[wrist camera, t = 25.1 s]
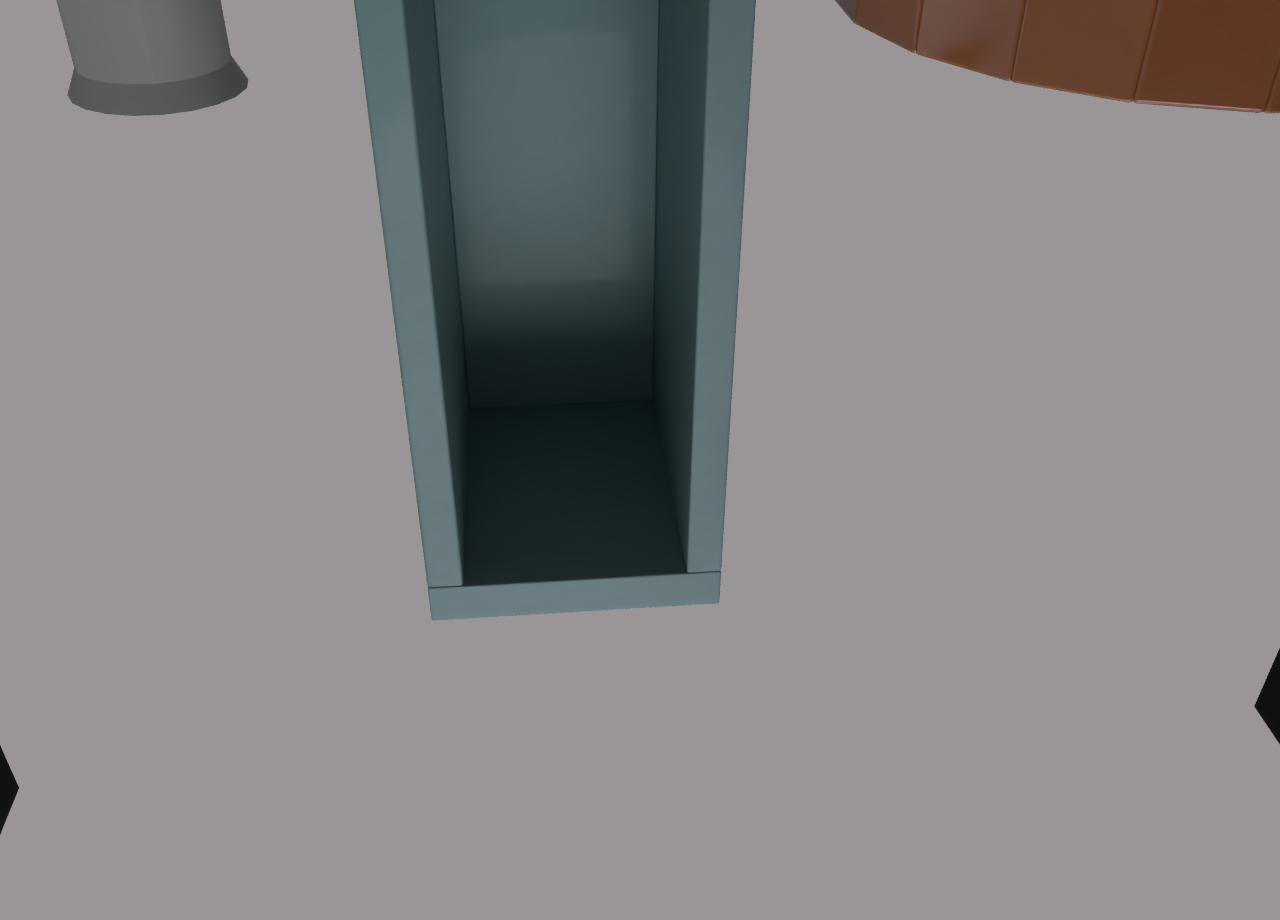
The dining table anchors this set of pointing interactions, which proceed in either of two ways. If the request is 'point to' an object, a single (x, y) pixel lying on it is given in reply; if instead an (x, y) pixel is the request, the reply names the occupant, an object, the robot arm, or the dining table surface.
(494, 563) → the teal bin
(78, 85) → the chalice
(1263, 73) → the pot
